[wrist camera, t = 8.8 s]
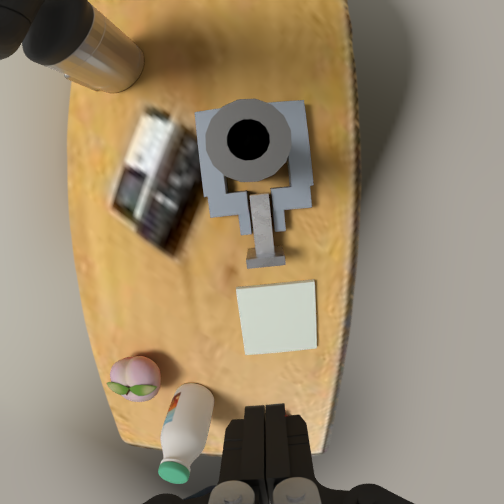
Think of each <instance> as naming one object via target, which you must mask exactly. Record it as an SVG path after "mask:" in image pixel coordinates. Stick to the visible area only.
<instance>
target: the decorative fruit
mask: <svg viewBox="0 0 504 504" xmlns="http://www.w3.org/2000/svg"><path fill="white" fill-rule="evenodd" d="M110 377H111V382H108V383H107V385H108V387H109V388H110V389H111V390H112V391H113V392H115V393H117V394H120V395H122V396H123V397H124V398H126V399H128V400H130V401H134V402H142V401H148V400H150V399H152V398H153V397H154V396H155V395H156V394H157V393H158V391H159V389H160V383H161V375H160V370H159V368H158V366H157V365H156V363H155V362H153V361H152V360H151V359H149V358H147V357H144V356H136V357H127V358H124V359H121V360H119V361H117V362H116V363H115V364H114V365H113V366H112V368H111V372H110Z"/></svg>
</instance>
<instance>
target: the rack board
mask: <svg viewBox="0 0 504 504" xmlns="http://www.w3.org/2000/svg"><path fill="white" fill-rule="evenodd" d="M236 292H237V300H238V307H239V314H240V321H241V328H242V335H243V342H244V349H245V355H253V354H266V353H277V352H287V351H297V350H306V349H314V348H317V333H316V301H315V281H314V279H313V280H303V281H294V282H284V283H274V284H264V285H253V286H242V287H236Z"/></svg>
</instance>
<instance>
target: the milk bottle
mask: <svg viewBox="0 0 504 504" xmlns="http://www.w3.org/2000/svg"><path fill="white" fill-rule="evenodd" d="M213 407H214V397H213V395H212V393H211V392H210V391H209V390H208V389H207V388H206V387H204V386H202V385H199V384H196V383H187V384H183V385H181V386H180V387H179V388H178V389H177V390H176V392H175V394H174V397H173V399H172V402H171V405H170V408H169V410H168V413H167V416H166V419H165V422H164V425H163V428H162V432H161V445H162V449H163V455H164V459H163V460H162V461H161V464H160V466H159V470H158V473H159V475H160V477H162V478H163V479H164V480H166V481H169V482H171V483H176V484H182V483H185V482H187V481H188V478H189V473H190V465H191V463H192V462H193V461H194V460H195V459H196V458H197V457H198V456H199V455H200V454H201V452H202V451H203V449H204V447H205V444H206V440H207V436H208V432H209V427H210V422H211V417H212V412H213Z"/></svg>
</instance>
